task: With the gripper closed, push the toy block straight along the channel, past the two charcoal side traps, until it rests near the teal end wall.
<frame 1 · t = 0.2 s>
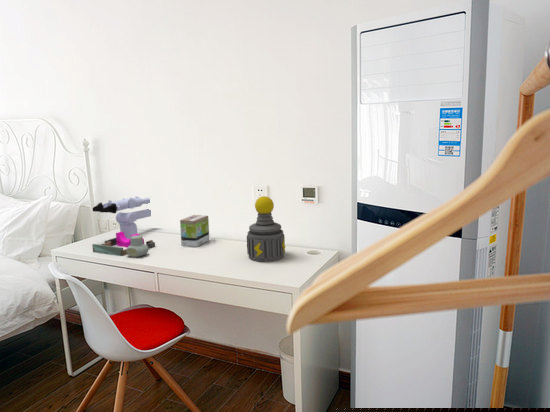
hand: (98, 210, 234), 21 cm above the table, tool horizontal, fingers open, 7 cm apart
trap channel: (124, 247, 235), on the table
air freshener: (138, 255, 220), on the table
toy block: (130, 246, 239), on the table
decorative lamp: (266, 256, 210), on the table
tea box: (195, 243, 240), on the table
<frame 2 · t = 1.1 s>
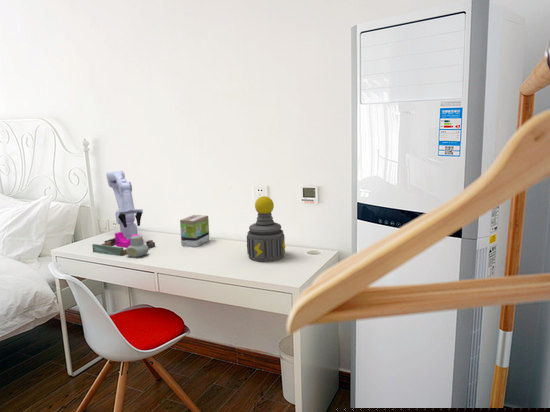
hand: (132, 226, 239), 10 cm above the table, tool tilted 20°, fingers open, 7 cm apart
nothing on the table moved.
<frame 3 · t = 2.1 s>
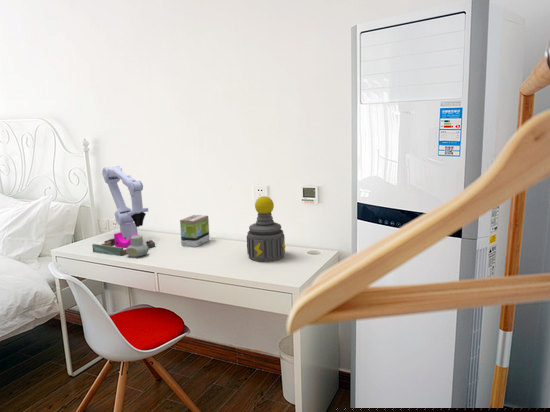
hand: (139, 226, 244), 9 cm above the table, tool pointing down, fingers closed
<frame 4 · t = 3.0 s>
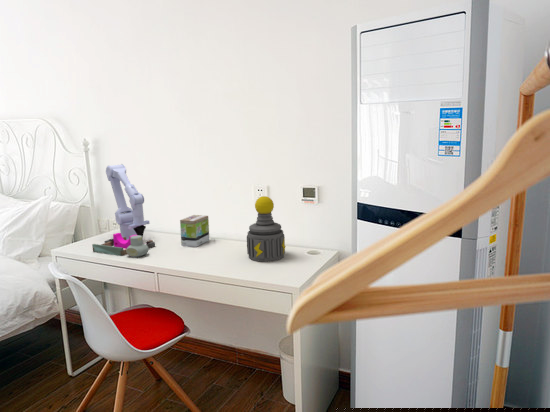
hand: (140, 238, 245), 2 cm above the table, tool pointing down, fingers closed
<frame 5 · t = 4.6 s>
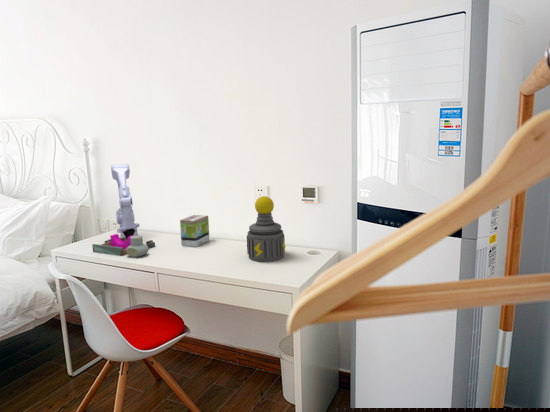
hand: (129, 242, 238), 2 cm above the table, tool pointing down, fingers closed
toy block: (126, 248, 234), on the table, touching gripper
everything else where it was.
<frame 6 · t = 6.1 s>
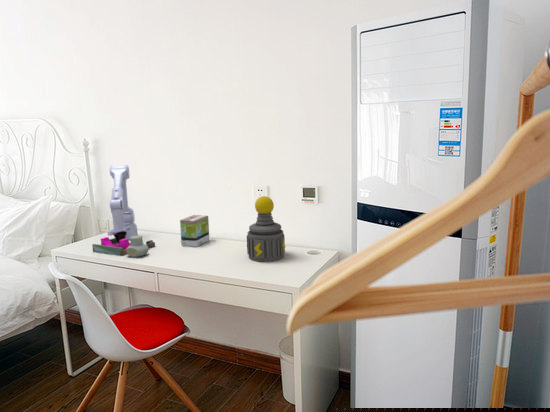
hand: (121, 245, 233), 2 cm above the table, tool pointing down, fingers closed
toy block: (117, 252, 229), on the table
everything else where it was.
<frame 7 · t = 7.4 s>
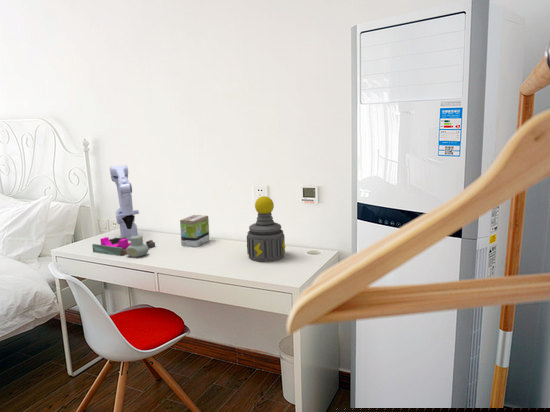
hand: (129, 228, 240), 9 cm above the table, tool pointing down, fingers closed
nothing on the table moved.
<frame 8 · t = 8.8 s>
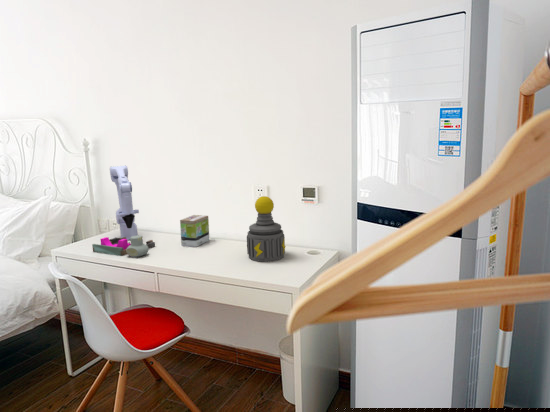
hand: (129, 228, 240), 9 cm above the table, tool pointing down, fingers closed
nothing on the table moved.
at the end: toy block inside the target area (1.7 cm from its centre), on the table; toy block tilted 0°; toy block moved 12.0 cm from its start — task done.
